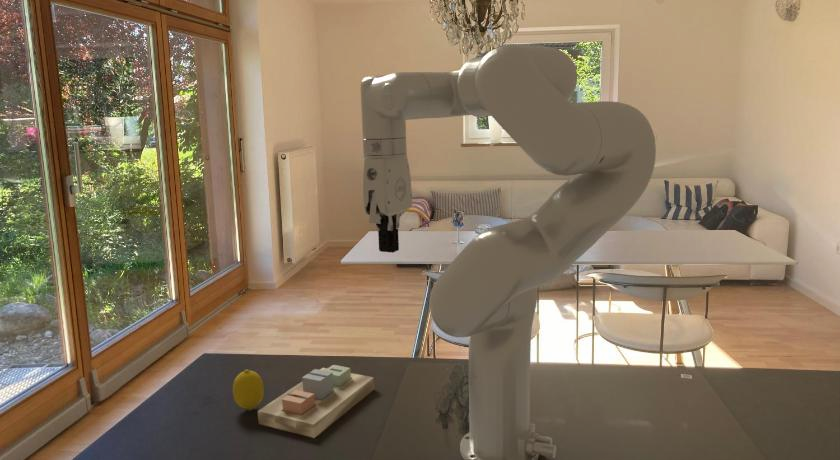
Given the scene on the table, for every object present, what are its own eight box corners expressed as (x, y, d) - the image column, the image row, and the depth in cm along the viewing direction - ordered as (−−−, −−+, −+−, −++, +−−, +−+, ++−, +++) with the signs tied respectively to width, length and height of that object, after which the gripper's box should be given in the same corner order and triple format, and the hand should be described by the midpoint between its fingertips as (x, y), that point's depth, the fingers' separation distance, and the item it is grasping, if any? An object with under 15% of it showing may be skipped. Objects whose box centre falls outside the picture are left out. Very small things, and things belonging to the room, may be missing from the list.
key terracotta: (317, 416, 115) (315, 393, 114) (303, 427, 111) (301, 403, 111) (296, 411, 117) (294, 389, 116) (282, 421, 113) (280, 398, 113)
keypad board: (374, 389, 126) (373, 377, 125) (314, 438, 108) (313, 424, 108) (323, 378, 131) (322, 367, 130) (258, 423, 113) (257, 410, 113)
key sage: (351, 388, 126) (350, 367, 125) (340, 397, 122) (338, 375, 121) (334, 385, 127) (333, 364, 126) (322, 393, 124) (321, 372, 123)
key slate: (333, 394, 120) (332, 371, 119) (321, 403, 116) (320, 380, 116) (316, 390, 122) (314, 368, 121) (303, 399, 118) (302, 376, 117)
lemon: (257, 418, 115) (253, 377, 114) (229, 416, 117) (225, 375, 115) (270, 404, 121) (267, 364, 119) (243, 402, 122) (239, 362, 120)
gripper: (382, 152, 103) (386, 262, 107) (423, 145, 116) (425, 243, 120) (343, 152, 106) (348, 259, 110) (387, 145, 119) (390, 240, 123)
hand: (389, 250), depth 115 cm, fingers closed
